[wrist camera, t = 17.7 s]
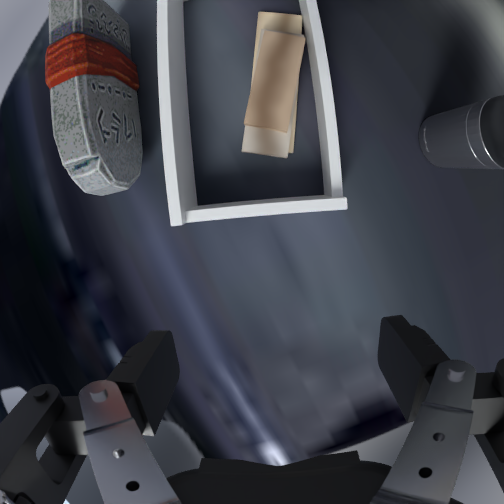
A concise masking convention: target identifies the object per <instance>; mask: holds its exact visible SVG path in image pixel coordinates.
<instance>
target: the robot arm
mask: <svg viewBox="0 0 504 504" xmlns="http://www.w3.org/2000/svg"><path fill="white" fill-rule="evenodd" d="M419 143H420V147H421V150H422V152H423V154H424V156H425V157H426V158H427V160H428V161H429V162H431V163H432V164H433V165H435V166H437V167H440V168H482V169H504V95H503V96H497V97H494V98H491V99H487V100H483V101H480V102H477V103H473V104H470V105H466V106H463V107H459V108H456V109H452V110H449V111H446V112H442V113H439V114H436V115H433V116H430V117H428V118H427V119H426V120H424V122H423V123H422V125H421V127H420V131H419ZM378 364H379V367H380V369H381V371H382V373H383V375H384V377H385V379H386V381H387V383H388V385H389V387H390V389H391V391H392V393H393V395H394V397H395V399H396V401H397V403H398V405H399V407H400V409H401V411H402V413H403V415H404V417H405V419H406V421H407V423H409V422H413V421H414V423H413V426H412V428H411V430H410V432H409V434H408V437H407V439H406V441H405V443H404V445H403V447H402V449H401V451H400V453H399V455H398V457H397V459H396V461H395V463H394V465H393V467H391V466H389V465H385V464H382V463H377V462H370V461H360V459H359V455H358V452H357V451H351V452H344V453H337V454H329V455H320V456H317V457H313V458H310V459H306V460H303V461H299V462H295V463H292V464H288V465H284V466H273V465H266V464H260V463H254V462H249V461H244V460H232V459H206V458H202V459H201V463H200V467H199V469H193V470H188V471H184V472H181V473H178V474H175V475H173V476H170V477H168V478H165V476H164V475H163V473H162V471H161V469H160V467H159V466H158V464H157V462H156V461H155V459H154V457H153V455H152V453H151V451H150V449H149V448H148V446H147V444H146V442H145V440H144V438H143V436H142V435H148V436H155V434H156V431H157V429H158V426H159V424H160V422H161V419H162V417H163V415H164V412H165V410H166V408H167V405H168V403H169V401H170V398H171V396H172V394H173V391H174V389H175V387H176V384H177V382H178V379H179V373H180V369H179V362H178V358H177V354H176V349H175V344H174V340H173V335H172V333H171V331H158V330H152V331H150V332H149V334H148V335H147V337H146V338H145V339H144V341H143V342H139V343H137V344H136V345H134V346H133V347H131V348H130V349H129V350H128V351H127V353H126V354H125V355H124V357H123V358H122V359H121V361H120V363H118V365H117V366H116V367H115V369H114V370H113V371H112V373H111V374H110V375H109V377H108V378H107V379H106V380H102V381H96V382H93V383H90V384H88V385H86V386H85V387H84V388H83V389H82V390H81V391H80V393H79V396H72V397H61V395H60V392H59V390H58V388H57V387H56V386H54V385H51V384H43V385H39V386H36V387H34V388H32V389H31V390H29V391H28V392H27V393H26V395H25V396H24V397H23V398H22V399H21V400H20V402H19V403H18V404H17V405H16V406H15V407H14V408H13V409H12V411H11V412H10V413H9V414H8V415H7V417H6V418H5V419H4V420H3V421H2V422H1V424H0V504H63V503H64V501H65V499H66V497H67V495H68V492H69V490H70V488H71V486H72V484H73V482H74V480H75V478H76V476H77V474H78V472H79V470H80V468H81V466H82V464H83V462H84V460H85V458H86V456H87V455H89V458H90V461H91V465H92V468H93V471H94V474H95V478H96V481H97V483H98V487H99V490H100V492H101V495H102V498H103V501H104V503H105V504H463V503H461V502H459V501H457V500H455V499H453V498H451V495H452V492H453V490H454V487H455V483H456V480H457V477H458V474H459V471H460V467H461V464H462V460H463V457H464V453H465V449H466V445H467V441H468V437H469V435H474V436H475V437H476V439H477V441H478V443H479V445H480V447H481V448H482V450H483V452H484V454H485V456H486V458H487V460H488V462H489V464H490V466H491V468H492V470H493V471H494V474H495V476H496V478H497V480H498V482H499V484H500V486H501V488H502V490H503V492H504V358H503V359H501V360H500V361H499V362H498V363H497V366H496V369H495V372H491V373H476V370H475V368H474V367H473V366H472V365H471V364H469V363H467V362H465V361H461V360H450V359H449V358H448V356H447V355H446V354H445V353H444V352H443V351H442V349H441V348H440V347H439V346H438V345H437V344H436V343H435V342H434V340H433V339H431V337H430V336H429V335H428V334H427V333H426V332H425V331H424V330H423V329H421V328H419V327H417V326H415V325H413V326H411V325H410V324H409V323H408V321H407V320H406V319H405V318H404V317H403V316H402V315H397V316H389V317H383V318H382V320H381V326H380V337H379V346H378ZM44 436H45V438H46V440H47V441H48V443H49V446H48V447H47V449H46V450H45V452H44V454H43V455H42V457H41V458H40V460H39V461H38V460H37V457H36V449H37V447H38V445H39V444H40V442H41V441H42V439H43V438H44Z"/></svg>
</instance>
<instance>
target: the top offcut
mask: <svg viewBox="0 0 504 504" xmlns="http://www.w3.org/2000/svg"><path fill="white" fill-rule="evenodd" d="M305 39H306V38H304V37H299V36H294V35H289V34H284V33H278V32H273V31H266V30H264V34H263V38H262V43H261V47H260V51H259V56H258V60H257V65H256V69H255V73H254V78H253V83H252V87H251V92H250V96H249V101H248V106H247V110H246V115H245V120H244V124H245V125H247V126H252V127H258V128H263V129H269V130H274V131H279V132H283V133H287V131H288V127H289V122H290V117H291V112H292V107H293V101H294V96H295V91H296V86H297V81H298V76H299V71H300V65H301V60H302V55H303V50H304V44H305Z"/></svg>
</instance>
